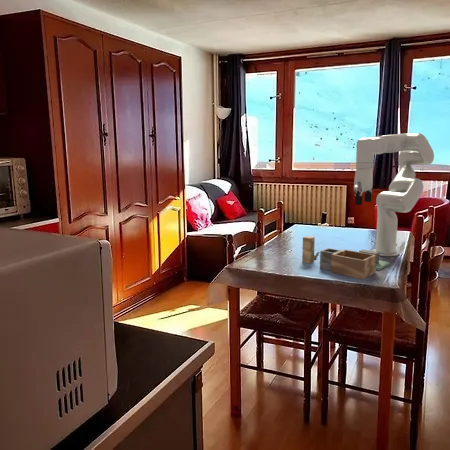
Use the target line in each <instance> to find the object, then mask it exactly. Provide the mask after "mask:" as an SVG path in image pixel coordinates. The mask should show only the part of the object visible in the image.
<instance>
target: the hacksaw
mask: <svg viewBox="0 0 450 450" xmlns="http://www.w3.org/2000/svg"><path fill="white" fill-rule="evenodd" d="M301 249H302V250H303V247H301ZM319 255H320V251H317V252H316V254H314V261H317V258H318V256H319Z"/></svg>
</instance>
